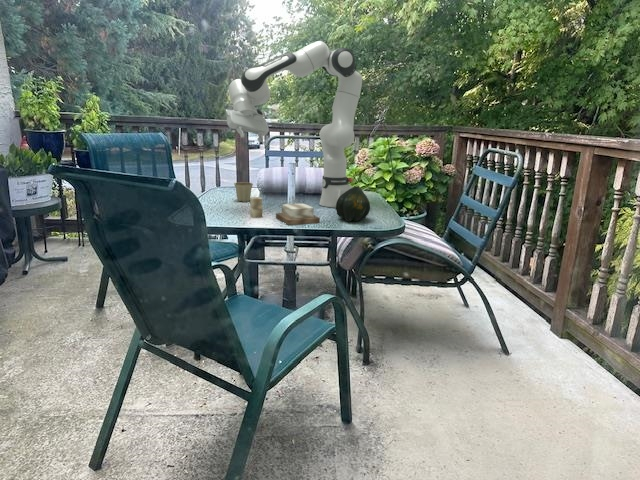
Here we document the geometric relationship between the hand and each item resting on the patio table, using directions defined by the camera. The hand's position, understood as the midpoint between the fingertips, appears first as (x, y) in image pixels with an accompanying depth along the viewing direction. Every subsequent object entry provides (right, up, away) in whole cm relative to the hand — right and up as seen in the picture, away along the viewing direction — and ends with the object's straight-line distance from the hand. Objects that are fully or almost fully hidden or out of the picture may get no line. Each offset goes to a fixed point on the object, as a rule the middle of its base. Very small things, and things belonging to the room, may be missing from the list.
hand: (252, 139), depth 194 cm
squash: (+43, -35, -1) cm, 56 cm away
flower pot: (-9, -24, +32) cm, 41 cm away
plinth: (+20, -35, -6) cm, 41 cm away
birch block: (+2, -34, -1) cm, 34 cm away
